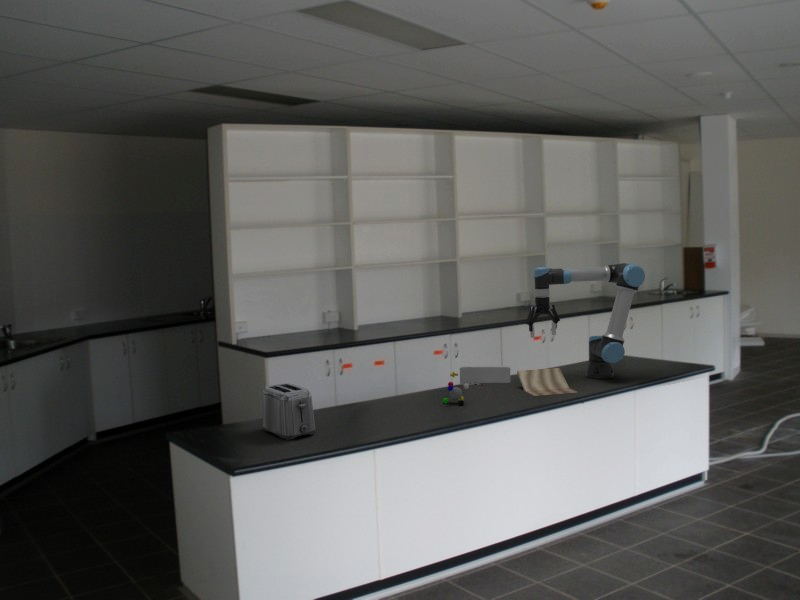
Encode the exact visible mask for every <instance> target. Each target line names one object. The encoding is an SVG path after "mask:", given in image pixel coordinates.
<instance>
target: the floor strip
mask: <svg viewBox="0 0 800 600" xmlns="http://www.w3.org/2000/svg"><path fill="white" fill-rule="evenodd" d="M527 393H528V394H529V395H532V396H534V397H537V396H548V395H549V396H551V395H561V394H562V395H563V394H574V393H578V394H579V391H577V390H575V389H572V388H570V387H569V388H566V389H553V390H540V391H527Z"/></svg>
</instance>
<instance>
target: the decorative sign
mask: <svg viewBox="0 0 800 600" xmlns="http://www.w3.org/2000/svg"><path fill="white" fill-rule="evenodd" d="M458 376H459V384H460V386H464V384H466V383H467V384H468V385H469V386H475V385H474V384H477V385H476V386H483V384H511V367H510V366H507V365H506V366H505V365H502V366H501V365H479V366H478V365H477V366H476V365H471V366H470V365H464V366H460V367H459V373H457V372H455V371H452V372H451V373H450V374H449V377H451V378H455V377H458ZM474 382H476V383H474ZM470 383H471V384H470Z"/></svg>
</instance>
